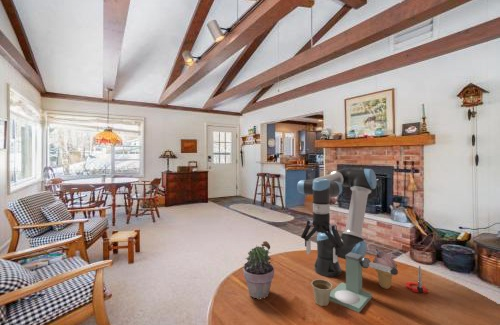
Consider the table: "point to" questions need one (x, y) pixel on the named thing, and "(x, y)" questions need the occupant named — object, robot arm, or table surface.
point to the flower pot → (321, 291)
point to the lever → (378, 266)
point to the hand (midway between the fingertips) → (321, 257)
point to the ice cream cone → (384, 276)
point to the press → (351, 286)
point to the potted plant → (259, 271)
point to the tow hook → (417, 284)
